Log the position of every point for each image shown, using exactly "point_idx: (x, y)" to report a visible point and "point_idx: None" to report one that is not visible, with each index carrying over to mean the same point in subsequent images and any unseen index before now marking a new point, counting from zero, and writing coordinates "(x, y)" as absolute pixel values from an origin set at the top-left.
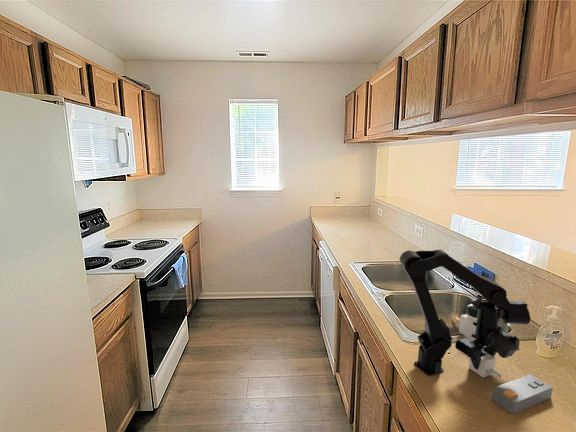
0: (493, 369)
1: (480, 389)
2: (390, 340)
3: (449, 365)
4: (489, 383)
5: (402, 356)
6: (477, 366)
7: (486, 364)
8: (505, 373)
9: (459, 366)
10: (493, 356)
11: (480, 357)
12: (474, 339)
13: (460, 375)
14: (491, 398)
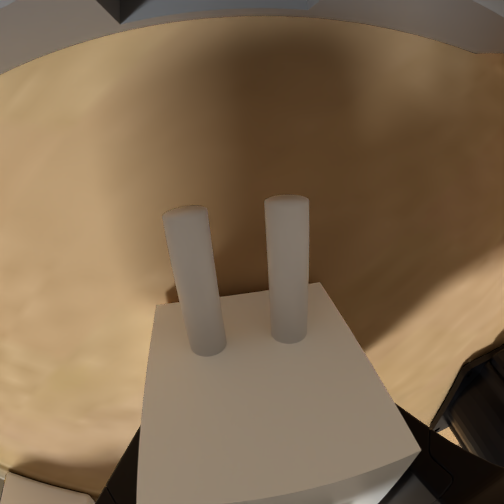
0: (159, 343)
1: (462, 164)
2: None
3: None
4: (327, 196)
5: None
6: None
7: (355, 410)
8: (23, 282)
9: None
10: (116, 499)
11: (457, 488)
12: (74, 501)
13: (433, 329)
14: (479, 51)
